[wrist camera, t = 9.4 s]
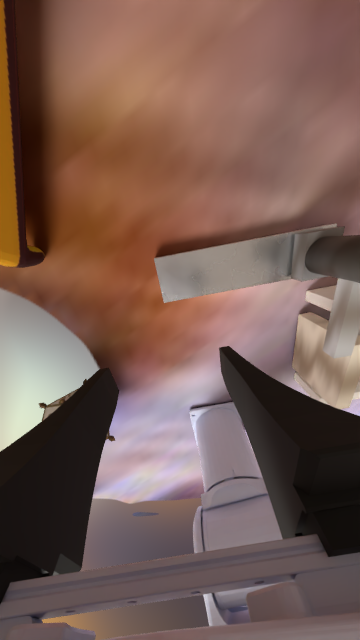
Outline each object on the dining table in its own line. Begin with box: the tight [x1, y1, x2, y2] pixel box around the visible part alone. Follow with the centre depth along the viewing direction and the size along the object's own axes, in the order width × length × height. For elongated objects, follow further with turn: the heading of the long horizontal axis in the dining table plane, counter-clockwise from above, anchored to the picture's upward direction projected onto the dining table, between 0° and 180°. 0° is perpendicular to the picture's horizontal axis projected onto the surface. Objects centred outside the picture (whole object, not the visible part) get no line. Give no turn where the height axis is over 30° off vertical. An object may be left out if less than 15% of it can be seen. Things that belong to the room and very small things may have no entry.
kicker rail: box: [154, 223, 337, 303], centre depth 17 cm, size 4×17×1 cm, turn 100°
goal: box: [294, 285, 360, 404], centre depth 19 cm, size 13×9×6 cm
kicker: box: [291, 226, 360, 409], centre depth 16 cm, size 17×4×9 cm, turn 10°
